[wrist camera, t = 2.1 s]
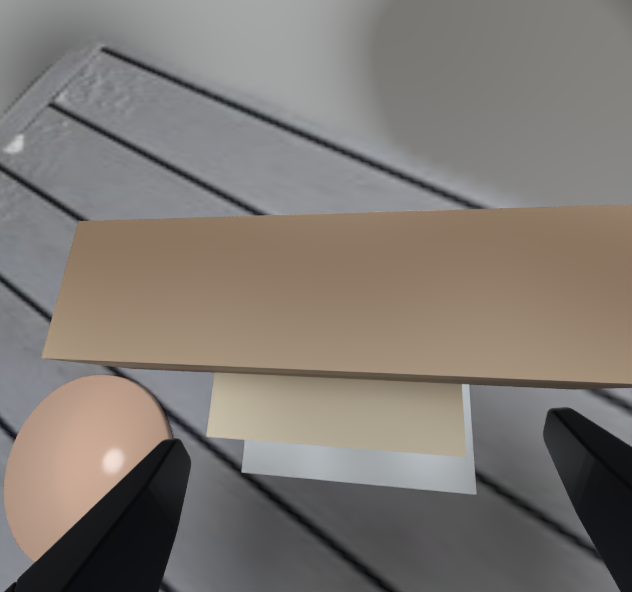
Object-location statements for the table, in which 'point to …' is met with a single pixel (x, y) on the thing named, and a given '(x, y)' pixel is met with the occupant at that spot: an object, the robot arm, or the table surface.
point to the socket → (367, 463)
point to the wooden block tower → (355, 314)
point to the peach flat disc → (76, 455)
